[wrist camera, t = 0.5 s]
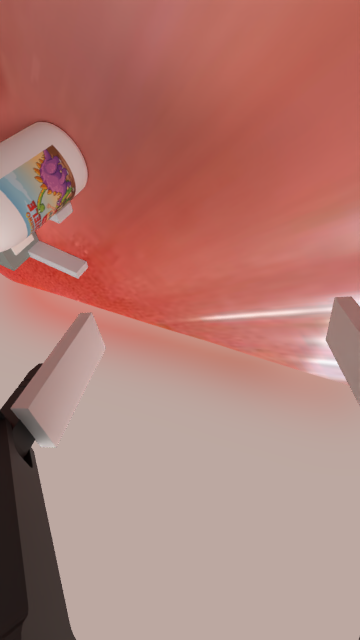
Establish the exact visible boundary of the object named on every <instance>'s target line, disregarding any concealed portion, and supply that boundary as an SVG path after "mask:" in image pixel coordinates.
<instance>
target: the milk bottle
mask: <svg viewBox="0 0 360 640" xmlns="http://www.w3.org/2000/svg"><path fill="white" fill-rule="evenodd" d="M87 178H88V170H87V166H86V162H85V160H84V157H83V155H82V153H81V151H80V150H79V148H78V147H77V145H76V144H75V142H74V141H73V140H72V139H71V137H69V136H68V135H67V134H66V133H65V132H64V131H63V130H62V129H60V128H59V127H57V126H55V125H54V124H51V123H48V122H36V123H34V124H32V125H30V126H28V127H27V128H25V129H23V130H21V131H20V132H18V133H16V134H14V135H13V136H11V137H9V138H8V139H6V140H4V141H3V142H1V143H0V252H3V251H6V250H8V249H10V248H12V247H14V246H16V245H18V244H19V243H21V242H22V241H23V240H25V239H26V238H27V237H28V236H30V235H31V234H32V233H33V232H35V231H36V230H37V229H38V228H39V227H40V226H42V225H43V224H44V223H45V222H46V221H47V220H49V219H50V218H51V217H52V216H53V215H54V214H56V213H57V212H58V211H59V210H60V209H61V208H62V207H64V206H65V205H66V204H67V203H68V202H69V201H70V200H71V199H73V198H74V197H75V196H76V195H77V194H78V193H79V192H80V191H81V190H82V189H83V188H84V187H85V186H86V183H87Z"/></svg>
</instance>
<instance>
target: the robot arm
mask: <svg viewBox="0 0 360 640" xmlns="http://www.w3.org/2000/svg"><path fill="white" fill-rule="evenodd" d="M326 341H327V343H328V345H329V347H330V349H331V351H332V353H333V355H334V357H335V359H336V361H337V363H338V365H339V367H340V369H341V370H342V372H343V374H344V376H345V378H346V380H347V382H348V384H349V386H350V388H351V390H352V392H353V394H354V396H355V397H356V399H357V401H358V403H359V405H360V307H359V305H358V304H357V303H356V302H355V300H354V299H353V298H352V297H336V298H335V299H334V304H333V308H332V313H331V318H330V322H329V327H328V332H327V336H326ZM105 349H106V347H105V345H104V342H103V339H102V337H101V334H100V332H99V330H98V327H97V324H96V322H95V319H94V316H93V314H92V313H80V314H79V315H78V317H77V318H76V319H75V321H74V322H73V324H72V325H71V326H70V328H69V329H68V330H67V332H66V333H65V334H64V336H63V337H62V339H61V340H60V341H59V343H58V344H57V346H56V347H55V348H54V350H53V351H52V352H51V354H50V355H49V356H48V358H47V359H46V360H45V362H44V363H43V364H38V365H37V366H36V367H35V368H33V369H32V370H31V371H30V372H29V373H28V374H27V375H26V377H25V378H24V381H22V382H21V384H20V385H19V386H18V388H17V389H16V390H15V391H14V393H13V394H12V395H11V396H10V398H9V399H8V401H7V402H6V403H5V404H4V406H3V407H2V408H1V410H0V640H76V639H75V637H74V635H73V633H72V630H71V627H70V623H69V618H68V613H67V609H66V604H65V599H64V594H63V590H62V584H61V580H60V576H59V570H58V565H57V560H56V556H55V551H54V546H53V542H52V537H51V532H50V527H49V522H48V518H47V512H46V508H45V503H44V498H43V493H42V488H41V484H40V479H39V474H38V469H37V465H36V460H35V455H34V451H33V449H32V448H31V446H32V444H33V442H34V441H35V440H36V442H38V444H39V445H40V447H54V448H56V447H57V445H58V443H59V441H60V439H61V437H62V435H63V433H64V431H65V429H66V427H67V425H68V423H69V421H70V419H71V417H72V415H73V413H74V411H75V409H76V407H77V405H78V403H79V401H80V399H81V397H82V395H83V393H84V391H85V389H86V387H87V385H88V383H89V381H90V379H91V377H92V375H93V373H94V371H95V369H96V367H97V365H98V363H99V361H100V359H101V357H102V355H103V353H104V351H105ZM359 640H360V638H359Z"/></svg>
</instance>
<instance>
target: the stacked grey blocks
mask: <svg viewBox="0 0 360 640" xmlns="http://www.w3.org/2000/svg"><path fill="white" fill-rule="evenodd" d="M72 212H73V210H72V206H71V203H70V202H68V203H67V204H66V205H65V206H64V207H62V208H61V209H60V210H59V211H58V212H57V213H56V214H54V215H53V216H52V217H51V218H50V220H52V221H55V222H57V223H59V224H60V223H61V222H62V221H63V220H64V219H65V218H66V217H67V216H69V215H70V214H71V213H72ZM29 257H32V258H34V259H36V260H38V261H40V262H43V263H45V264H47V265H49V266H51V267H54V268H56V269H58V270H60V271H62V272H65V273H67V274H69V275H71V276H74V277H76V278H79V277H80V276H81V275H82V274H83V273H84V271H85V270H86V269H87V268H88V265H87V262H86V261H84V260H82V259H79V258H77V257H75V256H73V255H70V254H68V253H66V252H64V251H61V250H59V249H57V248H55V247H52V246H50V245H48V244H46V243H43V242H41V241H39V239H38V237H37V235H36V233H35V232H33V233H32V234H31V235H30V236H28V237H27V238H26V239H25V240H23V241H22V242H21V243H19V244H18V245H16V246H14V247H12V248H10V249H8V250H6V251H3V252H0V265H2V266H5V267H7V268H9V269H11V270H13V271H15V270H16V269H17V268H18V267H19V266H20V265H21V264H22V263H23V262H24V261H25V260H27V259H28V258H29Z"/></svg>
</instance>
